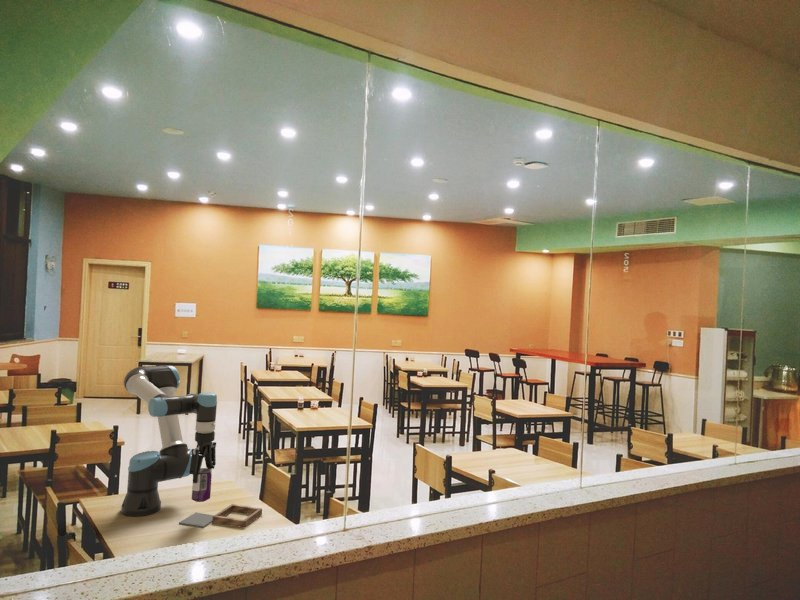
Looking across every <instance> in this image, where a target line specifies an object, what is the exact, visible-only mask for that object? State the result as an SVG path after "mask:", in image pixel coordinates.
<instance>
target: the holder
mask: <svg viewBox="0 0 800 600" xmlns="http://www.w3.org/2000/svg"><path fill="white" fill-rule="evenodd" d="M232 512H237V513H241V512H243V513H242V514H247V513H248V514H249V515H248V516H247V517H246V518H244V519H240V518H234V517H228V516H229V514H231V513H232ZM262 514H263V508H261V507H256V506H255V507H254V506H247V505H241V504H240V505H239V504H236V503H235V504H234V503H231V504H229V505H228V506H227V507H225V508H223V509H222V510H220V511H218V512H217V513H215V514H213V515H214V516H213V521H212V523H211V524H220V525H224V526H225V525H226V526H231V525H232V527H237V526H240V527H239V528H243V527H245V528H246V527H247V526H249V525H250V524H252V521H253V522H254V521H255V520H257V519H258V518H260V517H261V516H263V515H262ZM256 518H257V519H256ZM248 524H249V525H248Z"/></svg>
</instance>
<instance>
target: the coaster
mask: <svg viewBox="0 0 800 600" xmlns="http://www.w3.org/2000/svg"><path fill="white" fill-rule="evenodd" d="M214 515H215V514H207V513H202V512H194V513H193V514H190V515H189V516H187V517H186V518H184V519H182V520H181V521H179V522H178V524H179V525H183V526H187V527H196V528H199V529H200V528H201V529H204V528H206V527H207V526H209V525H210V524H213V523H212V521H213V516H214Z"/></svg>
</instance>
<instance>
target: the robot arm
mask: <svg viewBox="0 0 800 600" xmlns="http://www.w3.org/2000/svg"><path fill="white" fill-rule="evenodd" d="M180 380H181V377H180V373H179V371H178V369H177V367H175V366H173V365H165V364H164V365H152V366H151V365H149V366H147V365H145V366H136V367H134V368H132V369H130V370H129V371H128V372H127V373H126V375H125V376H124V379H123V386H124V389H125V390H126V391H127V392H128V393H129V394H131V395H134V396H137V397H138V398H139V399H140V400H141V401H142V402H144V403H146V405H147V406H148V407H147V411H148V414H149V416H151V417H154V418H155V417H157V422H158V426H159V427H158V429H159V433H160V434H159V435H160V439H161V440H160V441H161V446H162V447H161V448H160V450H159V451H157V450H151V451H150V450H146V451H142V452H139V453H136V454H134V455H133V456H131V458H130V459H129V465H128V468H127V471H128V474H127V475H128V476H127V486H126V487H127V488H126V489H127V490H126V494H125V497H124V499H123V502H122V504H121V506H120V507H121V508H120V512H121V514H122V515H125V516H129V517H140V516H141V517H142V516H143V517H144V516H146V515H147V516H148V515H151V514H154V513H156V512H158V511H160V510H161V508H162V501H161V499H160V494H159V490H158V487H159V483H160V482H166V481H171V480H176V479H182V478H185V477H189V476H190V475H192V486H193V488H192V487H191V488H192V489H191V491H192V490H193V491H199V490H200V474H199V472H200V468H202V463H203V459H204V462H205V468H208V469H211V471H210V472H211V474H212V470H214V469H215V466H216V447H217V442H215V437H216V436H215V435H216V432H215V430H216V418H217V404H218V397H217V394H216V393H214V392H200V393H198V394H197V393H188V394H186V395H178V396H177V395H176V396H175V394H176V393H177V391H178V388H179V387H180V383H181V381H180ZM188 414H195V415H196V416H195V417H196V419H195V428H194V429H195V434H194V441H195V442H196V448H192V449H191V448H188V443H185V442H184V440H183V434H182V430H181V429H182V428H181V425H180V420H179V415H188Z"/></svg>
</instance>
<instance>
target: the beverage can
mask: <svg viewBox="0 0 800 600" xmlns="http://www.w3.org/2000/svg"><path fill="white" fill-rule="evenodd" d="M210 471H211V469H208V468H206V467H205V468H204V467H203V468H202V467H201V468H200V472H199V474H200V490H199V491H193V490H192V489H191V500H192V501H194V502H196V503H203V502H206V501H208V500H209V499H211V493H212V492H211V491H212V490H211V489H212V478H213V477H212V474H211V472H210ZM191 488H193V485H192V487H191Z"/></svg>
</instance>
